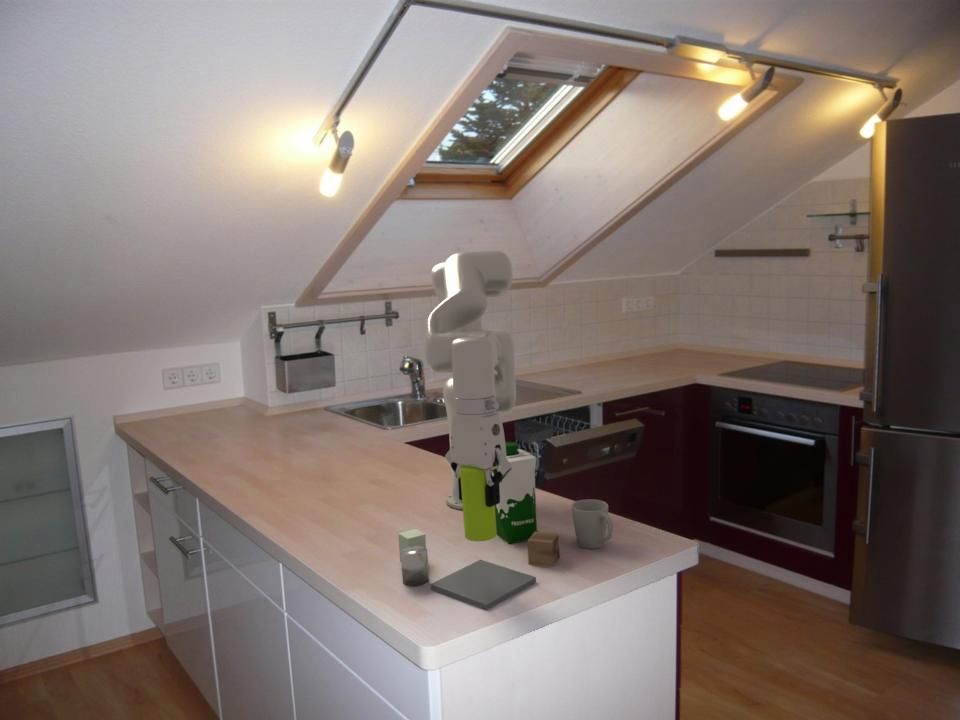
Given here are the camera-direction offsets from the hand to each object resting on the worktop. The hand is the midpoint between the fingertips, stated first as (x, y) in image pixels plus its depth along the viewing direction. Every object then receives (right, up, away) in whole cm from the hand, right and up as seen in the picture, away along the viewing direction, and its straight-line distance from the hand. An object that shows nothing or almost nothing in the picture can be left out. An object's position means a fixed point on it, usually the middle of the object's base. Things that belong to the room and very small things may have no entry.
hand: (479, 500), depth 147 cm
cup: (+24, -13, +19) cm, 33 cm away
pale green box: (-13, -15, +15) cm, 25 cm away
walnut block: (+13, -14, +13) cm, 23 cm away
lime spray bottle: (0, -7, +1) cm, 7 cm away
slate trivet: (+1, -16, +3) cm, 17 cm away
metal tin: (-12, -16, +6) cm, 21 cm away
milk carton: (+8, -12, +27) cm, 31 cm away
